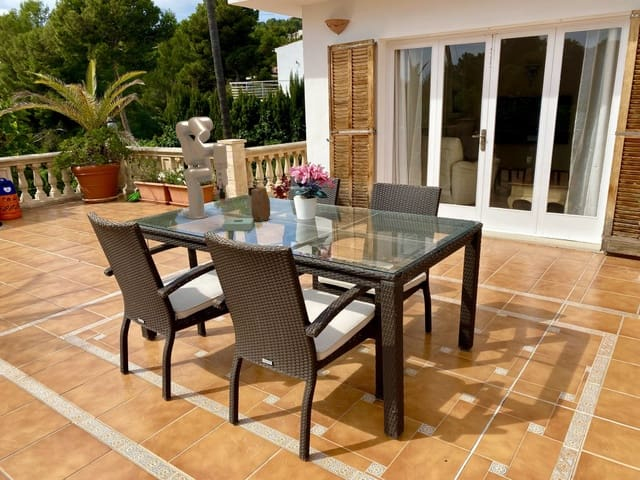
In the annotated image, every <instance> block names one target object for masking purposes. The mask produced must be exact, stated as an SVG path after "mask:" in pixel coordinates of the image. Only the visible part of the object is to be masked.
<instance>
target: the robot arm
mask: <svg viewBox="0 0 640 480" xmlns="http://www.w3.org/2000/svg"><path fill="white" fill-rule="evenodd" d="M213 123H214V122H213V121H212V119H211V118H210V117H208V116H194V117H191V118H189V119H188V120H182V121H178V122H177V123H176V125H175V132H176V133H175V134H176V137H177V139H178V141H179V143H180V146H181V153H182V157H183V161H184V163H185V165H186V166H190V167H189V168H186V169H185V171H184V179H185V184H186V189H187V191H186V192H187V200H188V210H182V214H183V215H187V216H186V217H187V219H190V220H197V219H198V220H199V219H205V218H207V217H208V214H207V213H206V212H205V210H206V209H205V201H204V200H205V198H204V189H203V187H202V186H201V184H200V183H203V182H210V181H213V176H214V173H213V169H214V170H215V174H216V185H217V187H218V191H219V192H218V193H219V200H220V199H225V192H224V186H225V187H226V188H227V186H228V185H229V177H228V170H227V169H228V168H229V166H228V153H227V145H226V144H225V143H221V142H208V143H205V142H207V141H208V140H209V139H210V137H211V131H212V130H213V128H214V124H213ZM190 135H191V136H192V135H193V136H194V137H195V138H194V139H193V138H192V137H191V136H190ZM210 157H213V158H212V159H213V167H214V168H213V167H212V163H211V158H210ZM191 166H192V167H191ZM194 166H195V167H194ZM222 186H223V187H222ZM227 197H228V196H227V193H226V198H227Z"/></svg>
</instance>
